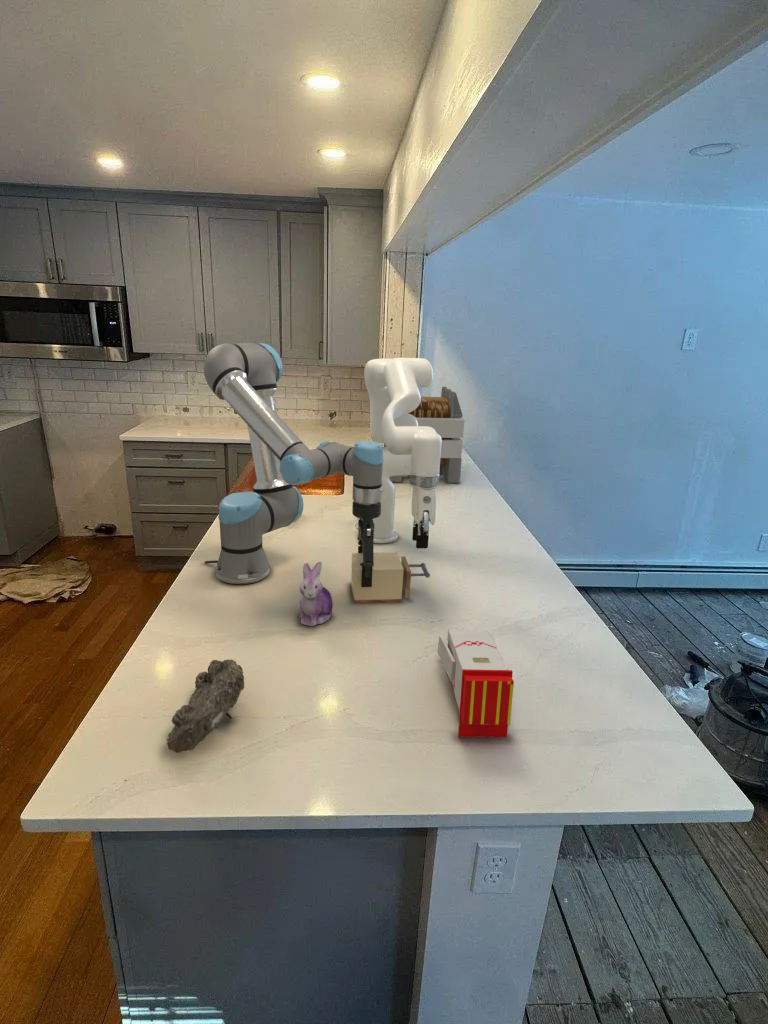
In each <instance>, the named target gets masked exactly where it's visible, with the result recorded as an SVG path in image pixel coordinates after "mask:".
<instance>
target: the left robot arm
mask: <svg viewBox="0 0 768 1024" xmlns="http://www.w3.org/2000/svg"><path fill="white" fill-rule="evenodd" d="M203 374H204V379H205V381H206V383H207V385H208V387H209V389H210V390H211V391H212V393H213V394H214V395H215V396H216V397H217V398H218V399H219V400H222V401H226V402H227V403H228V405H229V406H230V407H231V408H232V409H233V410H234V412H235V413H236V414H237V415H238V416H239V417H240V418H241V419H242V421H243V422H244V423H245V424H246V425H247V431H248V436H249V442H250V449H251V453H252V454H251V455H252V459H253V465H254V471H255V477H256V482H255V483H254V485H253V486H252V490H253V491H248V490H247V491H246V490H245V491H242V492H240V491H237V492H234V493H231V494H230V493H229V494H228V495H226V496H225V497H224V498H222V499H221V500H220V502H219V504H218V517H217V518H218V520H219V536H220V537H219V540H220V552H219V554H218V555H219V556H218V559H217V560H205V561H204V564H216V566H215V576H216V579H218V581H221V582H223V583H225V584H231V585H250V584H254V583H257V582H260V581H262V580H264V579H266V578H267V577H268V576H269V575H270V572H271V569H270V567H271V566H270V563H269V560H268V558H267V555H266V553H265V550H264V546H263V535H265V534H268V533H271V532H274V531H276V530H279V529H282V528H285V527H288V526H290V525H292V524H294V523H296V522H297V521H298V520H300V518H301V517H302V514H303V511H304V498H303V495H302V492H299V489H298V488H297V487H296V486H299V485H304V484H308V483H310V482H313V481H316V480H319V479H322V478H326V477H330V476H334V475H336V474H342V475H346V476H350V477H352V497H351V498H352V500H353V501H352V506H351V507H352V509H351V512H352V516H353V517H355V518H356V519H358V521H357V522H358V526H359V527H358V529H357V530H358V531H357V545H358V546H357V553H363V563H360V566H362V580H361V587H372V567H373V566H374V553H375V552H374V543H373V538H374V523H373V520H372V519H374V518H378V517H379V516H380V515H381V502H380V501H381V492H384V489H382V470H383V462H384V459H383V447H384V446H383V445H382V443H378V442H375V441H373V440H360V441H356V442H355V443H354V445H353V446H351V445H346V444H343V443H338V442H336V441H322V442H321V443H320V444H319V445H318V446H317V447H316V448H313V449H310V448H309V447H308V446H307V445H306V444H305V443H304V442H303V440H302V439H300V437H299V436H298V435H297V434H296V433H295V432H294V431H293V430H292V429H291V428H290V426H289V425H288V424H287V423H286V422H285V421H284V420H283V419H282V418H281V417H280V415H279V414H278V413H277V412H276V405H275V400H274V394H275V393H276V392H277V391H278V386H277V385H278V384H277V383H278V382H279V381H280V380H281V378H282V376H281V375H282V374H283V362H282V359H281V357H280V355H279V353H278V352H277V350H276V349H274V348H273V346H271V345H270V344H267V343H264V342H263V343H262V342H256V341H255V342H241V343H239V342H238V343H221V344H218V345H216V346H214V347H213V348H212V349H210V351H208V353H207V355H206V357H205V359H204V362H203Z"/></svg>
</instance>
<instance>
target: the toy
mask: <svg viewBox="0 0 768 1024" xmlns="http://www.w3.org/2000/svg"><path fill="white" fill-rule="evenodd" d="M446 640H447V643H446V641H445V639H444V636H443V635H442V634H439V637H438V646H437V656H438V657H439V659H440V661H441V663H442V666H443V668H444V670H445V672H446V674H447V677H448V679H449V681H450V684H451V687H452V690H453V693H454V697H455V701H456V705H457V708H458V711H459V714H458V715H459V716H458V730H457V731H458V732H457V737H458V738H508V731H509V726H510V725H511V717H512V707H513V697H514V696H513V695H514V684H515V680H514V679H513V673H514V671H513V670H512V669H508V667H507V665H506V662H505V661H504V659H503V658H502V655H501V653H500V651H499V649H498V647H497V643H496V639H495V637H494V635H493V634H491V632H490V631H489V629H467V628H466V629H465V628H463V629H461V628H460V629H459V628H448V630H447V639H446Z"/></svg>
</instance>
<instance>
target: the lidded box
mask: <svg viewBox="0 0 768 1024" xmlns="http://www.w3.org/2000/svg"><path fill="white" fill-rule="evenodd" d="M360 563H363V553H358V552H351V574H350V575H351V576H350V578H351V579H350V586H351V592H352V599H353V604H373V603H375V604H377V603H402V601H403V600H402V599H403V598H402V597H403V589H402V583H403V567H402V564H401V558H400V556H399V554H398V551H397V552H374V566H373V567H372V587H361V580H362V566H360Z"/></svg>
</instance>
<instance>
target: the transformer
mask: <svg viewBox="0 0 768 1024" xmlns="http://www.w3.org/2000/svg"><path fill="white" fill-rule="evenodd" d="M440 393H441V394H440V396H421V402H420V404H419V406H418V407H417V408H416V409H415V410H413V411H412V412H410V413H408V414H411V415H413V416H414V417H415V418H416V420H417V422H418V426H428V427H432V428H433V429H435V431H436V433H437V434H439V435H440V436H441V439H442V445H441V457H440V470H439V473H440V474H441V475H443V478H444V479H445V481H446V482H447V483H449V484H455V483H456V484H459V483H461V472H462V461H463V460H462V453H463V442H464V441H463V440H462V439H463V438H464V431H465V430H464V429H465V419H464V418H463V411H462V408H461V405H460V402H459V398H458V395H457V392H455V391H453V390H452V389H451V388H447V386H442V387H441V392H440ZM383 447H386V444H385V443H383ZM389 480H390V481H391V482H392V483H402V482H403V475H401V476H389Z"/></svg>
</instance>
